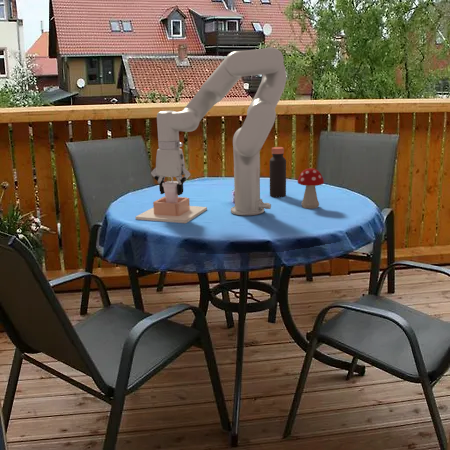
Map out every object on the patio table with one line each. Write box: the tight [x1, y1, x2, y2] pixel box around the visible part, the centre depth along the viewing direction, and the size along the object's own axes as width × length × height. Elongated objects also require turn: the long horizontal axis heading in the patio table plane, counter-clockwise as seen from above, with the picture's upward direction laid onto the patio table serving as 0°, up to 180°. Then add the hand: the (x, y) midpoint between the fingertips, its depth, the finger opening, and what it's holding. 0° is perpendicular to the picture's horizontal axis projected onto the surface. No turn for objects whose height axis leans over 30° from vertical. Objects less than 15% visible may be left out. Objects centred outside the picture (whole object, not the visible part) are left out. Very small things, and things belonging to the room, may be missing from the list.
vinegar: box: [269, 146, 287, 198], centre depth 246 cm, size 7×7×20 cm
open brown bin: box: [135, 196, 208, 224], centre depth 223 cm, size 20×20×6 cm
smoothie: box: [162, 177, 179, 203], centre depth 221 cm, size 6×6×14 cm
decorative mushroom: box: [297, 167, 325, 210], centre depth 227 cm, size 10×9×15 cm
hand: (171, 193), depth 222 cm, fingers closed on smoothie, 6 cm apart
